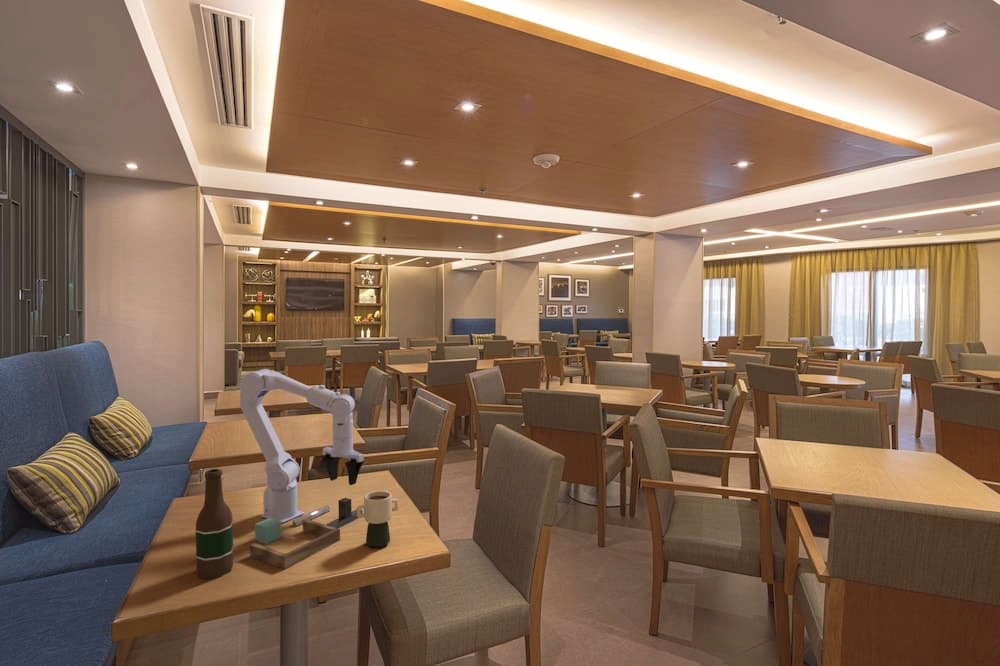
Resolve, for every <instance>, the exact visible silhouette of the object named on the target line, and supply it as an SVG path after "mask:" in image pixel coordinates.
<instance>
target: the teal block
mask: <svg viewBox="0 0 1000 666" xmlns="http://www.w3.org/2000/svg"><path fill="white" fill-rule="evenodd" d="M254 538H255V539H254V540H255V541H256V540H257V541H256V542H259V541H260V542H259V543H262V544H266V545H268V544H269V543H272V542H274V541H276V540H279V539H280V538H282V523H281V521H278V520H275V519H272V518H268V519H267V518H265V519H264V520H261V521H259V522H257V523H255V524H254ZM278 538H279V539H278Z"/></svg>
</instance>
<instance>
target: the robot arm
mask: <svg viewBox="0 0 1000 666" xmlns="http://www.w3.org/2000/svg"><path fill="white" fill-rule="evenodd" d="M238 387H239V390H240V393H239V395H240V396H239V407H240V410H241V411H242V413H243V415H244V417H245V420H246V422H247V423H248V426H249V428H250V430H251V432H252V434H253V436H254V438H255V440H256V442H257V444H258V446H259V448H260V450H261V453H262V455H263V457H264V459H265V467H264V471H265V473H266V483H267V484H268V486H267V487H266V488H265V489H264V491H263V501H262V502H263V503H262V504H263V513H262V514H261V515H260V517H261V518H264V519H268V518H272V519H275V520H278V521H281V524H283V523H286V522H288V521H291V520H294V519H296V518H299V516H300V517H301V516H303V515H305V511H302V510H299V508H298V481H297V479H298V477H299V475H300V472H301V468H300V465H299V463H298V462H297V461H295V460H294V459H293V458H292V455H291V454H290V453H288V452H286V451H285V449H284V447H283V445H282V444H281V441H280V439H279V437H278V435H277V433H276V431H275V429H274V426H273V425H272V423H271V421H270V419H269V417H268V414H267V413H266V410H265V408H264V406H263V402H264V400H265V398H266V395H267V394H268V393H269V392H270V391H275V390H282V391H284V392H288V393H291V394H294V395H297V396H300V397H303V398H305V399H306V401H307V403H308V404H309V405H311V406H314V407H317V408H320V409H322V410H325V411H328V412H330V414H331V416H332V447H330V446H327V447H324V448H322V455H324V457H322V458H321V461H322V463H323V464H324V465H325V468H326V470H327V473H328V477H329V480H330V481H332V482H333V481H335V480H337V479H338V476H339V475H338V474H339V463H340V459H341V458H342V459H344V460H345V459H347V460H348V461H347V462H346V461H345V463H344V464H345V467H346V470H347V475H348V486H353V485H355V484H356V483H357V480H358V476H359V472H360V470H361V468H362V466H363V464H364V463H365V460H364V459H365V456H364V455H365V454H364V453H361V452H359V451H356V450H355V449H354V420H353V416H354V415H353V414H354V413H353V410H354V409H355V407H356V402H355V399H354V397H352V396H351V395H349V394H348V393H343V394H341V392H339V391H336V392H335V391H333V390H331V389H328V388H326V385H323V384H320V385H314V386H309V385H307V384H304V383H302V382H300V381H298V380H295V379H293V378H292V377H289V376H287V375H284V374H283V373H281V372H279V371H275V370H271V369H270V368H262V369H259V370H257V371H253V372H247V373H246V374H244V376H243V377H242V378H241V381H240V382H239V384H238Z"/></svg>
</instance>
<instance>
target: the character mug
mask: <svg viewBox="0 0 1000 666" xmlns="http://www.w3.org/2000/svg"><path fill="white" fill-rule="evenodd" d="M363 497H364V498H363V504H359V505H358V506H357V507H356V509H357V517H358V519H361V518H364V521H365V522H366V523H368V524H367V527H366V528H367V529H366V535H365V536H366V539H365V544H367V545H368V546H371V547H375V548H380V547H381V548H382V547H384V546H386V545H388V544H389V543H390V542H391V535H390V527H389V521H390V520H391V519H392V516H393V512H396V511H398V510H399V500H398V498H392V497H393V496H392V493H391V492H390V491H386V490H374V491H370V492H367V493H366V494H364V495H363ZM393 504H394V507H393ZM362 509H363V512H362V514H361V510H362Z"/></svg>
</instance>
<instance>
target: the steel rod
mask: <svg viewBox="0 0 1000 666" xmlns="http://www.w3.org/2000/svg"><path fill="white" fill-rule="evenodd" d="M330 510H331V508H330V506H329V504H326V505H325V506H321V507H320V508H317V509H316V510H312V511H311V512H308V513H306V514H303V515H300V517H299V516H298V517H296V518H293V519H292V526H294V525H295V527H298V526H300V524H301V525H303V524H302V523H303V521H304V520H306V519H307V520H311V521H312V520H314V519H316V518H318V517H320V516H323V515H324V514H326V512H327V513H328V511H329V512H330ZM317 516H318V517H317ZM315 517H316V518H315ZM313 518H314V519H313Z"/></svg>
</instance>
